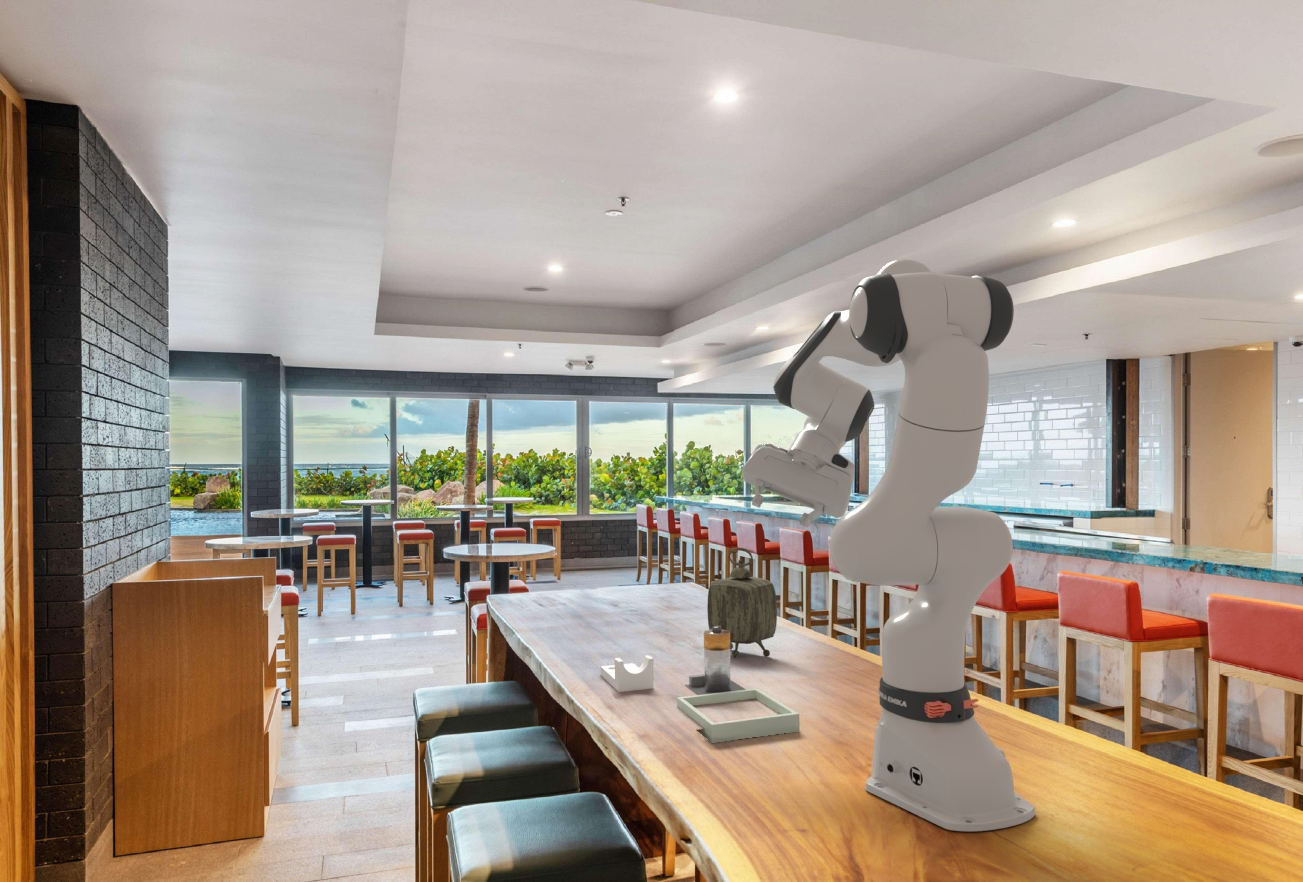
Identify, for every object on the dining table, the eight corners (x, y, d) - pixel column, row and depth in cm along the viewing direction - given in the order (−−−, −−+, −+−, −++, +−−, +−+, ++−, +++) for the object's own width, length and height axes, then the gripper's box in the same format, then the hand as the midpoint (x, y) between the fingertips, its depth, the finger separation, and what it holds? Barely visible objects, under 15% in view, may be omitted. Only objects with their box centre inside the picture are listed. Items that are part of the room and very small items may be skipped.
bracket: (653, 697, 159) (653, 658, 159) (618, 701, 156) (618, 661, 156) (633, 680, 171) (632, 644, 171) (600, 683, 169) (600, 646, 169)
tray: (799, 731, 137) (799, 713, 137) (712, 743, 132) (711, 724, 132) (757, 704, 152) (757, 688, 152) (677, 714, 147) (677, 697, 147)
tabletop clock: (777, 656, 188) (776, 548, 188) (754, 664, 181) (752, 552, 182) (728, 647, 198) (727, 544, 198) (704, 654, 191) (703, 547, 192)
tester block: (752, 701, 154) (752, 684, 154) (703, 707, 151) (703, 689, 151) (730, 687, 164) (730, 671, 164) (684, 692, 160) (684, 676, 160)
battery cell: (735, 691, 156) (734, 628, 156) (710, 694, 154) (709, 630, 154) (724, 684, 160) (723, 623, 161) (700, 687, 159) (699, 625, 159)
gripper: (760, 430, 155) (727, 483, 148) (862, 467, 147) (833, 525, 140) (760, 450, 160) (728, 503, 153) (859, 487, 152) (830, 544, 145)
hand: (779, 514), depth 147 cm, fingers open, 8 cm apart
